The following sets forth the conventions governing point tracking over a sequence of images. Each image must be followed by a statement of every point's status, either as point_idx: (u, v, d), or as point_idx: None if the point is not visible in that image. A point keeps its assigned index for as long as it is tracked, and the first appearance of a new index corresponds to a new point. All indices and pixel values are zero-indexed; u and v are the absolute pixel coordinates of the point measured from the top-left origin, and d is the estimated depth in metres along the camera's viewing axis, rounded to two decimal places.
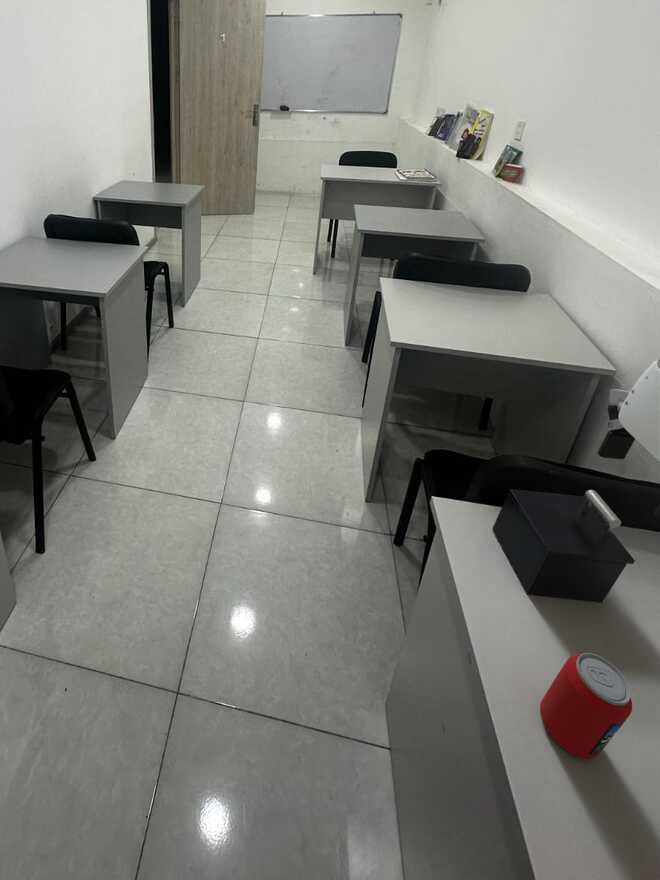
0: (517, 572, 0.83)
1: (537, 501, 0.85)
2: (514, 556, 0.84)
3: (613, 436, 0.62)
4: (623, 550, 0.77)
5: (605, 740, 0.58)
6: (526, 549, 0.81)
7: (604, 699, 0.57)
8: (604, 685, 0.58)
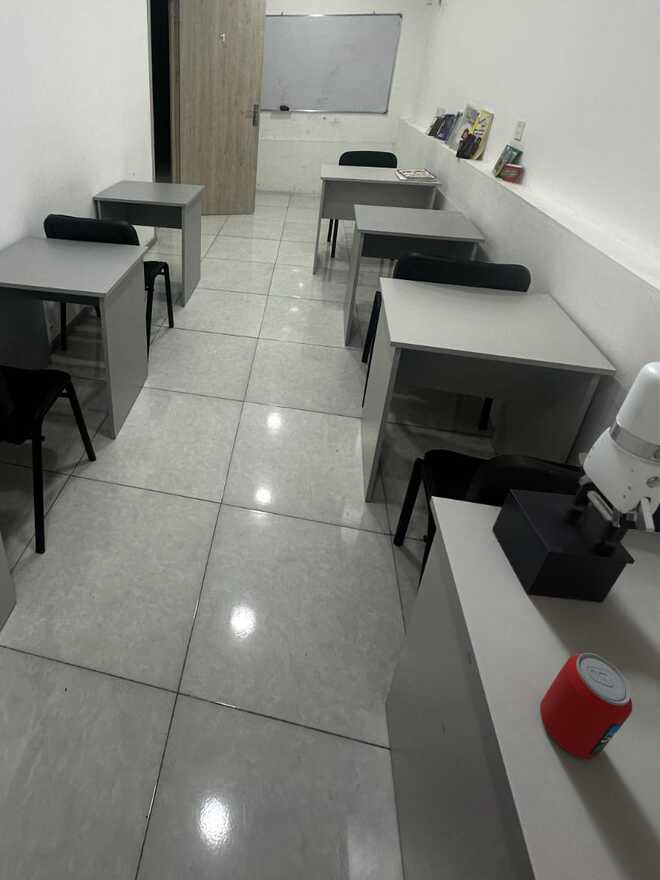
0: (517, 572, 0.83)
1: (537, 501, 0.85)
2: (514, 556, 0.84)
3: (583, 490, 0.82)
4: (623, 550, 0.77)
5: (605, 740, 0.58)
6: (526, 549, 0.81)
7: (604, 699, 0.56)
8: (605, 685, 0.58)
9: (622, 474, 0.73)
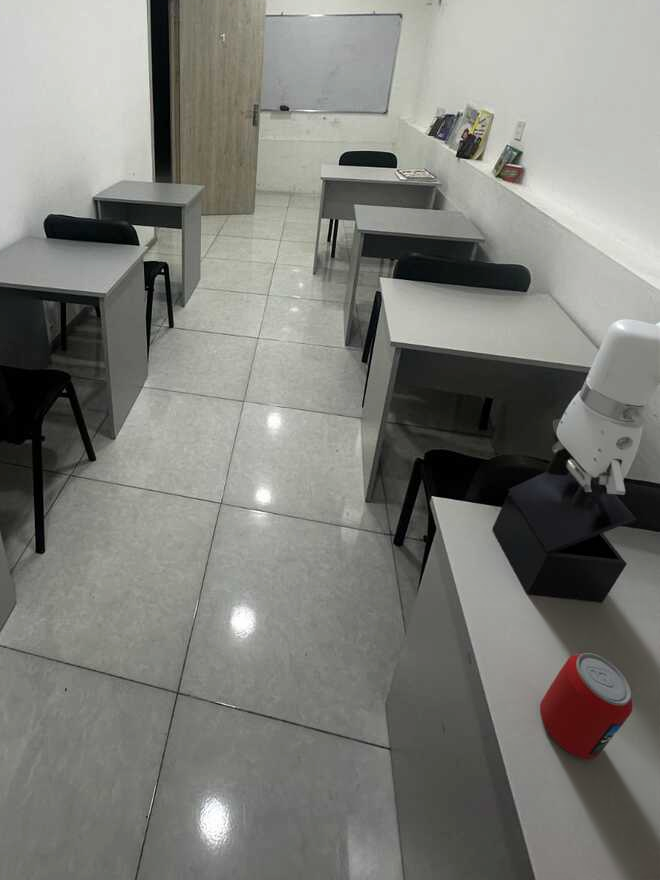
0: (517, 572, 0.83)
1: (535, 489, 0.84)
2: (514, 556, 0.84)
3: (557, 457, 0.80)
4: (621, 508, 0.73)
5: (605, 740, 0.58)
6: (526, 549, 0.81)
7: (604, 699, 0.56)
8: (604, 685, 0.58)
9: (592, 437, 0.71)
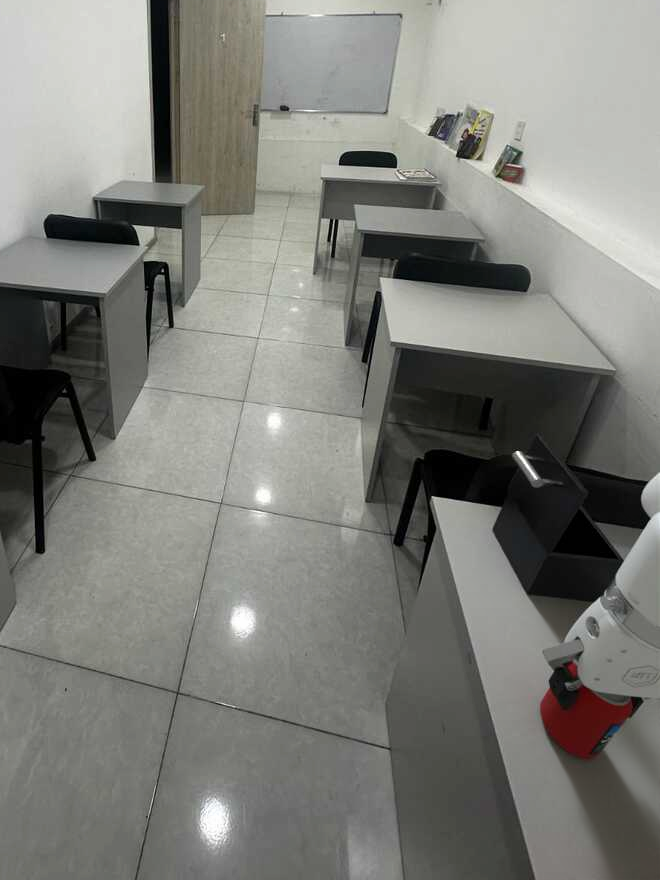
0: (517, 572, 0.83)
1: (521, 484, 0.84)
2: (514, 556, 0.84)
3: None
4: (574, 486, 0.72)
5: (605, 740, 0.58)
6: (526, 549, 0.81)
7: (604, 699, 0.56)
8: None
9: None
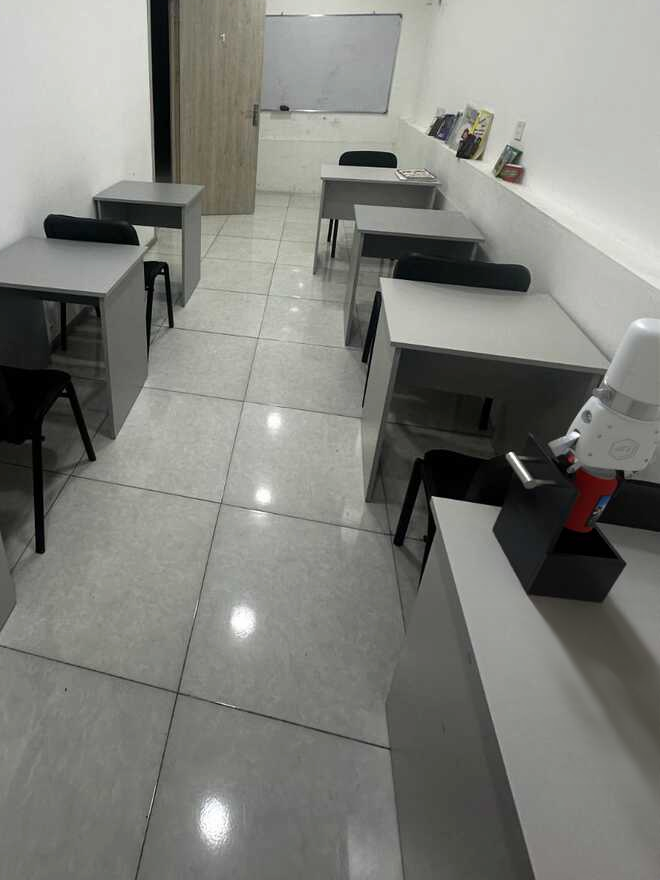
0: (517, 572, 0.83)
1: (519, 484, 0.84)
2: (514, 556, 0.84)
3: None
4: (566, 485, 0.72)
5: (596, 512, 0.75)
6: (526, 549, 0.81)
7: (595, 476, 0.74)
8: (596, 469, 0.75)
9: None
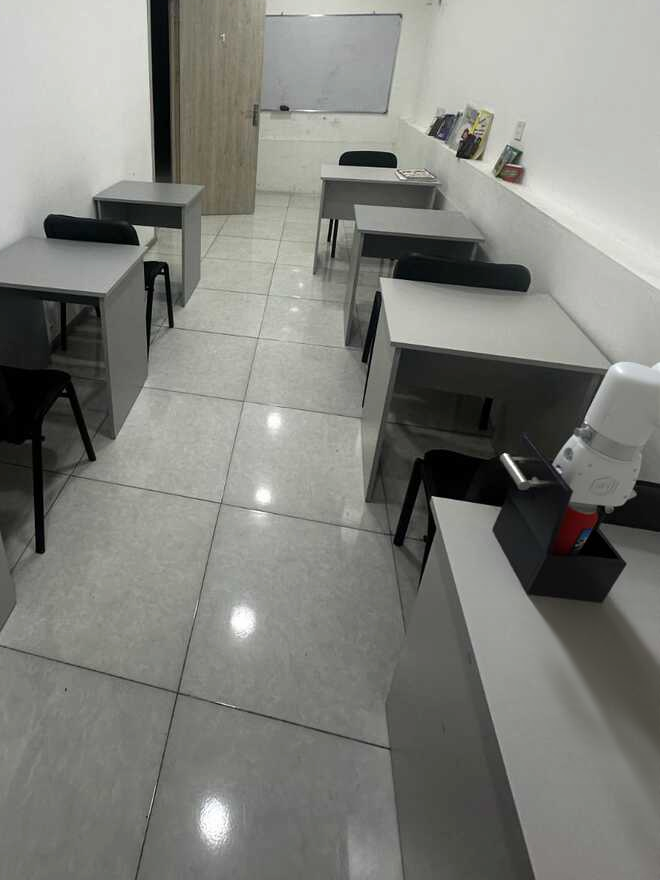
0: (517, 572, 0.83)
1: (517, 484, 0.84)
2: (514, 556, 0.84)
3: None
4: (559, 485, 0.72)
5: (578, 544, 0.78)
6: (526, 549, 0.81)
7: (577, 510, 0.77)
8: (578, 503, 0.78)
9: None
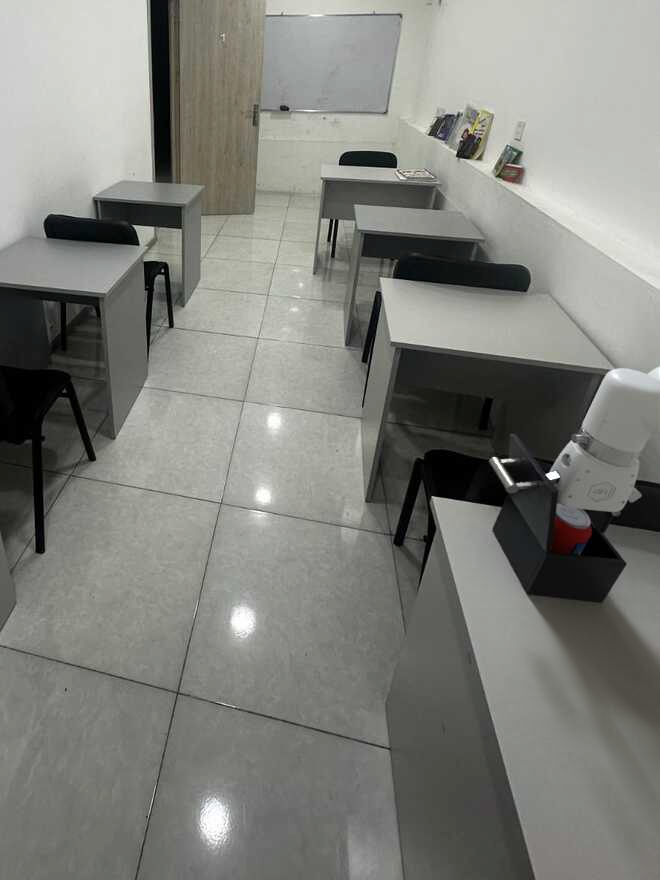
0: (517, 572, 0.83)
1: None
2: (514, 556, 0.84)
3: None
4: (545, 486, 0.73)
5: None
6: (526, 549, 0.81)
7: (570, 525, 0.78)
8: (572, 518, 0.80)
9: None
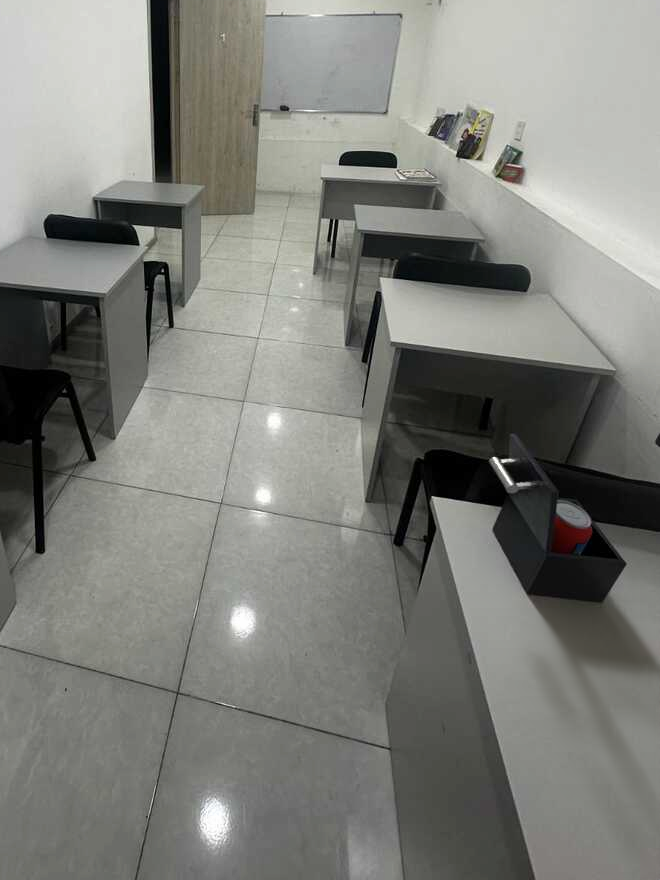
0: (517, 572, 0.83)
1: None
2: (514, 556, 0.84)
3: None
4: (545, 486, 0.73)
5: None
6: (526, 549, 0.81)
7: (571, 525, 0.78)
8: (572, 517, 0.80)
9: None
